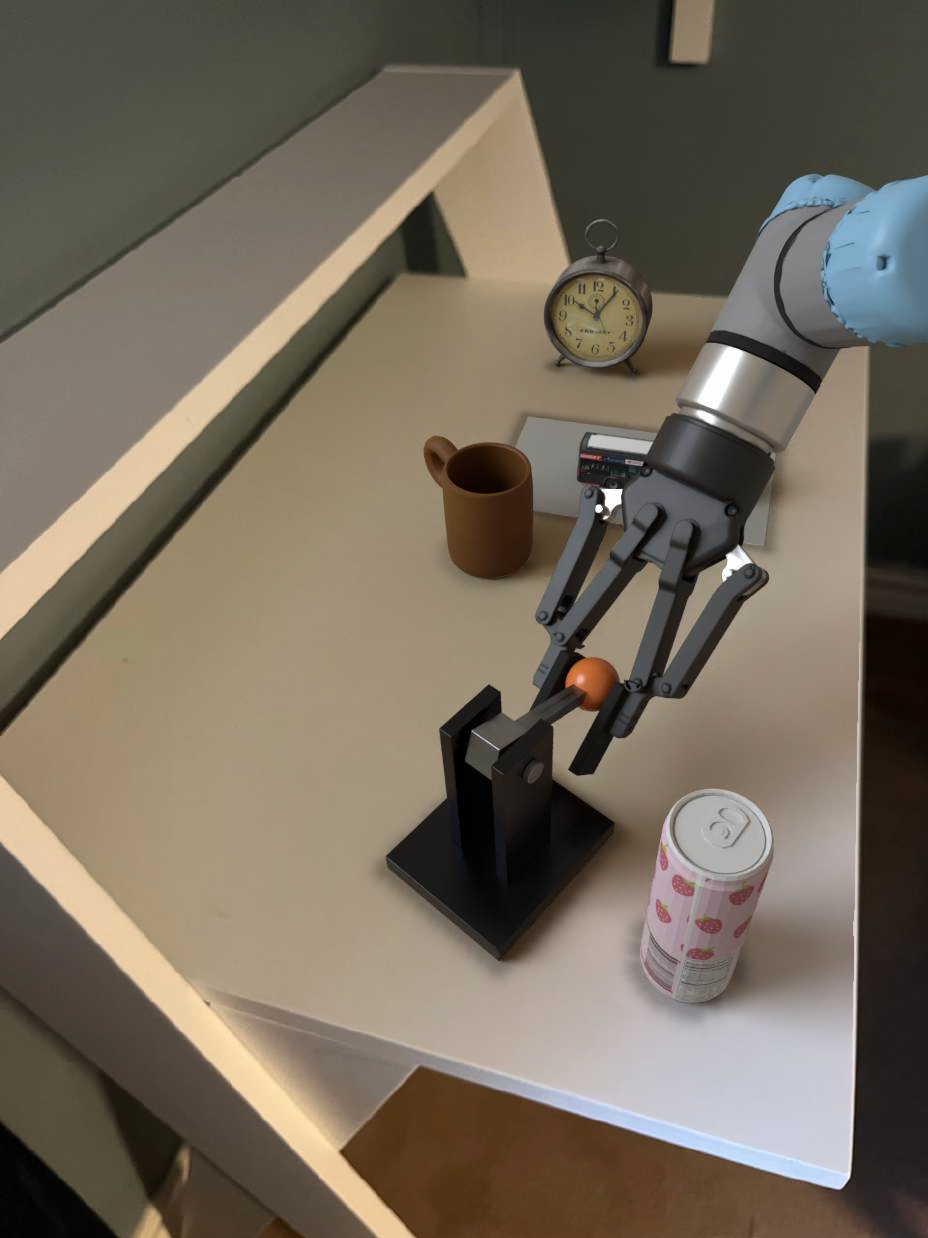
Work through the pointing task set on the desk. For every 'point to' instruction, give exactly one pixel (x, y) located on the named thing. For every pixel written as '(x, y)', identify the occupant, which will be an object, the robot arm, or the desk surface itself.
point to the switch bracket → (499, 834)
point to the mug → (484, 504)
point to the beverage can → (704, 892)
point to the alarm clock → (598, 310)
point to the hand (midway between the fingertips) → (555, 753)
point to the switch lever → (542, 712)
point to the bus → (598, 467)
